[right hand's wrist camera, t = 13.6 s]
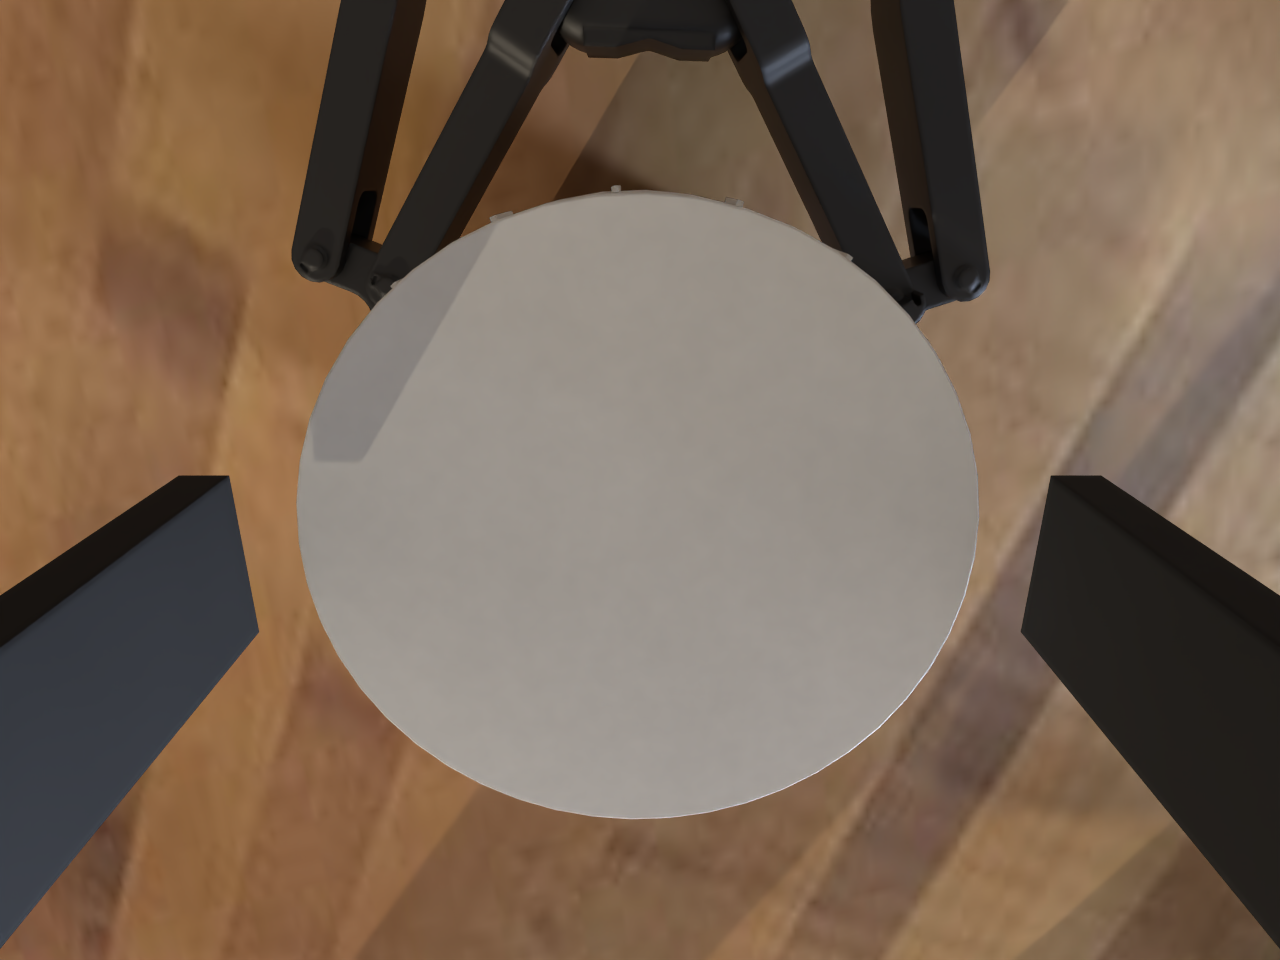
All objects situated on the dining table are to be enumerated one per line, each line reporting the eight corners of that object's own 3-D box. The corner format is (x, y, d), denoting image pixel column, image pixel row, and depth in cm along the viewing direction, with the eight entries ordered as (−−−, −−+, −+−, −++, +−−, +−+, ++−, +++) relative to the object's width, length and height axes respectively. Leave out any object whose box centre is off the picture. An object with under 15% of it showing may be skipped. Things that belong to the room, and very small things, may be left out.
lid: (983, 194, 14) (1047, 197, 12) (895, 748, 18) (930, 827, 16) (309, 177, 14) (248, 177, 12) (371, 739, 18) (334, 817, 16)
